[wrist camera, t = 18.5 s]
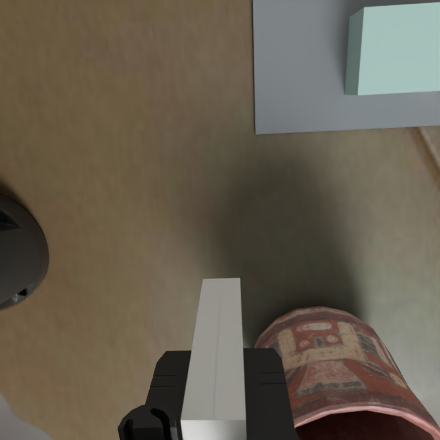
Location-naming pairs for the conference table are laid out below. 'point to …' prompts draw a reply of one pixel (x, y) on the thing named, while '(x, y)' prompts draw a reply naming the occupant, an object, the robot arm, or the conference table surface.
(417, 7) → the painted block
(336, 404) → the pottery
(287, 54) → the slate mat
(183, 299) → the conference table surface
